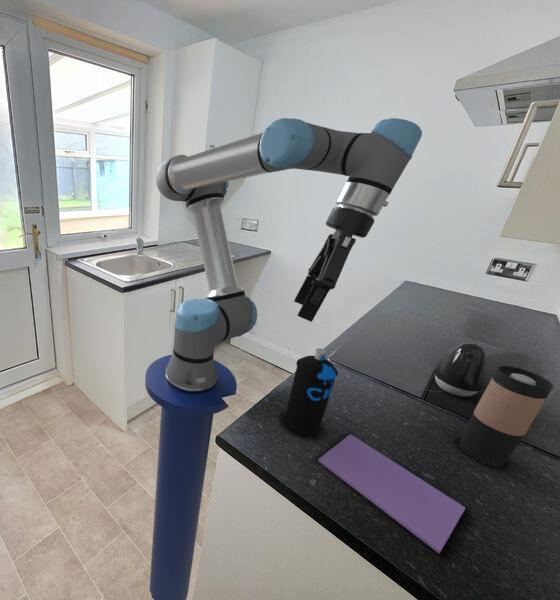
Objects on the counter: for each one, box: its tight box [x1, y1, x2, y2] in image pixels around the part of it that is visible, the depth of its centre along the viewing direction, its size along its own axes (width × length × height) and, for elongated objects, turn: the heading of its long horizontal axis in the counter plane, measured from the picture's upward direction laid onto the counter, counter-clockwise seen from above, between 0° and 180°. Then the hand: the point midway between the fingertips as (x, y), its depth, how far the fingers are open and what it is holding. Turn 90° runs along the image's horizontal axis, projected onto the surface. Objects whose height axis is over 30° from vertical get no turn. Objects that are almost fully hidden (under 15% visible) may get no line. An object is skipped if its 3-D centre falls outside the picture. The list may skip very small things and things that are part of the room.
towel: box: [318, 434, 466, 554], centre depth 59 cm, size 20×13×1 cm, turn 34°
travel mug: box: [459, 365, 554, 468], centre depth 64 cm, size 8×8×20 cm
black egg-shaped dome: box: [433, 342, 488, 398], centre depth 86 cm, size 10×10×15 cm
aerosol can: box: [282, 348, 339, 438], centre depth 70 cm, size 8×8×20 cm
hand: (301, 310), depth 65 cm, fingers open, 13 cm apart
